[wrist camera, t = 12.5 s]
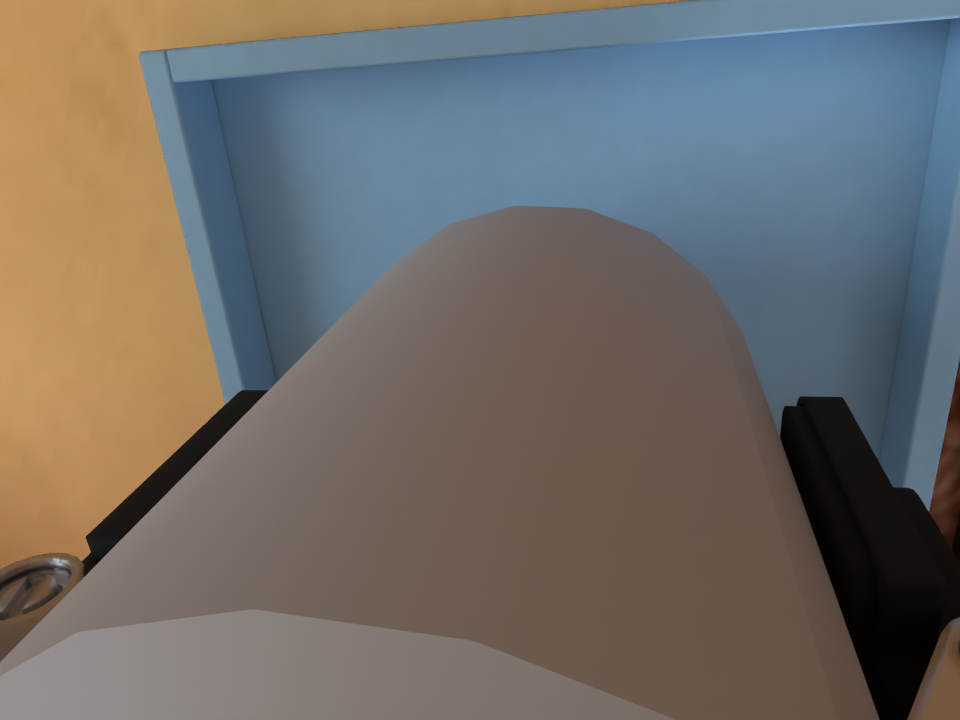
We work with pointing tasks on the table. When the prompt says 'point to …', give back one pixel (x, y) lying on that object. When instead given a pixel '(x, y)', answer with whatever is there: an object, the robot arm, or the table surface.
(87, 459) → the table surface
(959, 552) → the dish rack
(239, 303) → the tray
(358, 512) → the can
